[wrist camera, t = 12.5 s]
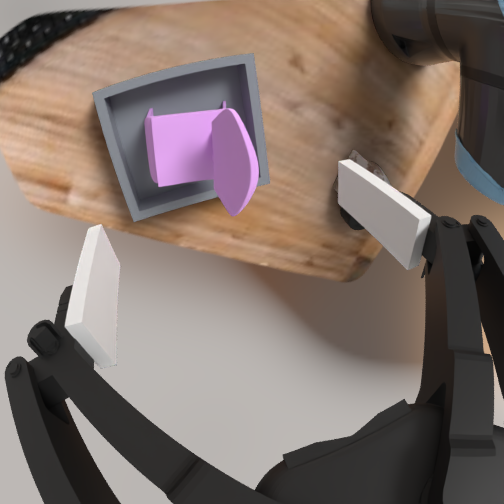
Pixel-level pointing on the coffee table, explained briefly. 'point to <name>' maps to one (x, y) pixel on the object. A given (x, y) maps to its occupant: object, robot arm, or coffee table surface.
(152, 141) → the toy chair
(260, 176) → the tray
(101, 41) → the coffee table surface
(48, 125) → the coffee table surface
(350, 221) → the grey brown rock
